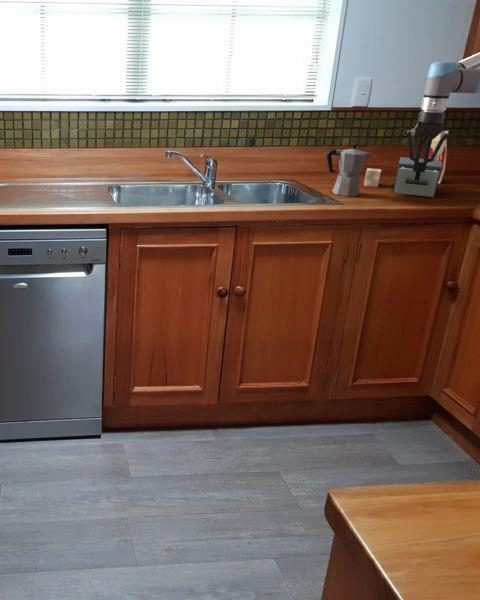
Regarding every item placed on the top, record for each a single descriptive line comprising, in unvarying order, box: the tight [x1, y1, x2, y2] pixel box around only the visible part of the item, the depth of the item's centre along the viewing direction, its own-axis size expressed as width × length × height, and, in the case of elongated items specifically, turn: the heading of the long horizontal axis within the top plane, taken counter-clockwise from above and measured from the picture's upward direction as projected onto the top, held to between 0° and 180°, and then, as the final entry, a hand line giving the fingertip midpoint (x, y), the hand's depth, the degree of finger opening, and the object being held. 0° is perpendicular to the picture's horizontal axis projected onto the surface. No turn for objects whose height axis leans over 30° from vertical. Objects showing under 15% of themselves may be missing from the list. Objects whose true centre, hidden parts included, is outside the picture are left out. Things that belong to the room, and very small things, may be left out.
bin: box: [394, 166, 439, 198], centre depth 220 cm, size 21×13×9 cm, turn 152°
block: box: [363, 167, 382, 188], centre depth 236 cm, size 5×5×6 cm
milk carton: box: [428, 130, 449, 184], centre depth 243 cm, size 9×9×20 cm
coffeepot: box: [325, 143, 374, 197], centre depth 219 cm, size 15×9×18 cm, turn 76°
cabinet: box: [392, 156, 442, 198], centre depth 227 cm, size 16×14×11 cm
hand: (416, 181), depth 213 cm, fingers closed
